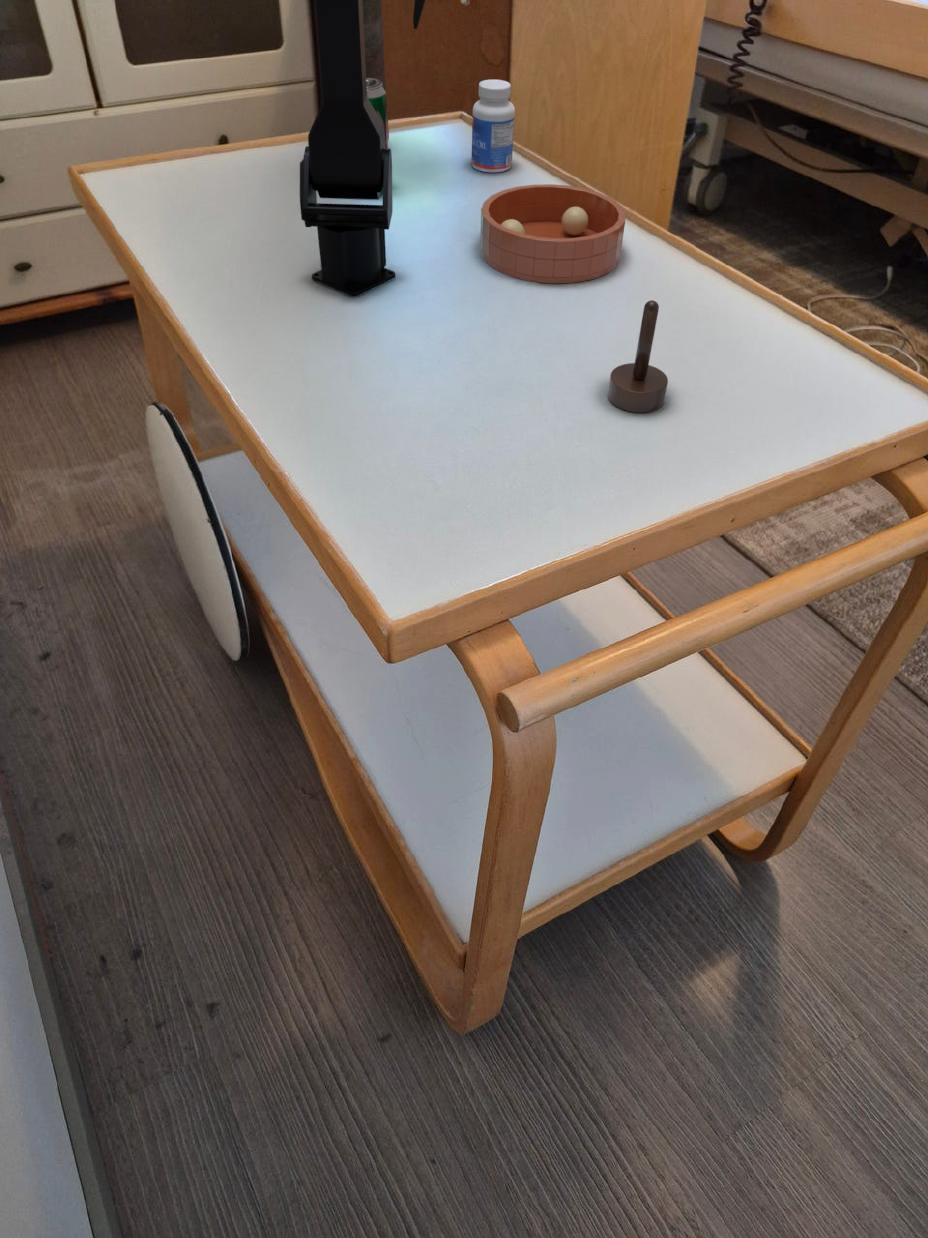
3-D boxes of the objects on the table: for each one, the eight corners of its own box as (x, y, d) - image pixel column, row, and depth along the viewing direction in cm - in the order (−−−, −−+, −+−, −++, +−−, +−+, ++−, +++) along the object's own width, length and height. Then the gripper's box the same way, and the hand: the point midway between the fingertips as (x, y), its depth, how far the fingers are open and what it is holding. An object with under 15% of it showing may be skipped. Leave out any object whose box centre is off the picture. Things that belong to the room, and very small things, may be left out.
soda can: (392, 183, 115) (388, 77, 106) (386, 199, 111) (381, 90, 103) (353, 181, 115) (346, 75, 106) (345, 196, 111) (337, 87, 103)
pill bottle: (464, 161, 121) (465, 79, 114) (500, 156, 122) (503, 75, 115) (482, 175, 117) (484, 91, 110) (519, 170, 119) (523, 86, 112)
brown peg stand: (644, 419, 78) (663, 321, 71) (596, 398, 80) (610, 302, 74) (674, 396, 81) (694, 299, 74) (627, 376, 83) (642, 281, 76)
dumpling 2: (576, 242, 102) (579, 214, 100) (555, 234, 103) (557, 207, 101) (591, 233, 103) (594, 207, 101) (570, 226, 105) (573, 200, 103)
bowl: (566, 297, 94) (571, 254, 90) (452, 254, 100) (452, 212, 97) (646, 249, 102) (653, 209, 99) (535, 212, 109) (538, 173, 106)
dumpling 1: (512, 255, 99) (514, 228, 97) (491, 247, 100) (492, 220, 98) (529, 247, 101) (531, 219, 98) (507, 239, 102) (509, 212, 100)
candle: (329, 139, 126) (314, -36, 112) (379, 134, 128) (371, -39, 113) (343, 157, 121) (330, -23, 107) (396, 151, 123) (390, -27, 108)
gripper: (456, -163, 100) (455, -7, 113) (287, -166, 99) (306, -10, 113) (454, -117, 94) (454, 41, 107) (275, -121, 94) (297, 38, 107)
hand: (377, 26), depth 109 cm, fingers open, 9 cm apart
